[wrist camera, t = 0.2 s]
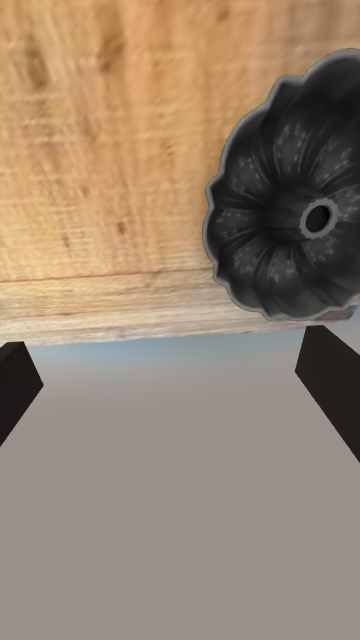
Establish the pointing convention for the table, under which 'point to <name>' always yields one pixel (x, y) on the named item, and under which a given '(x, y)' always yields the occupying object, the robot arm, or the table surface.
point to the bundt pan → (292, 197)
